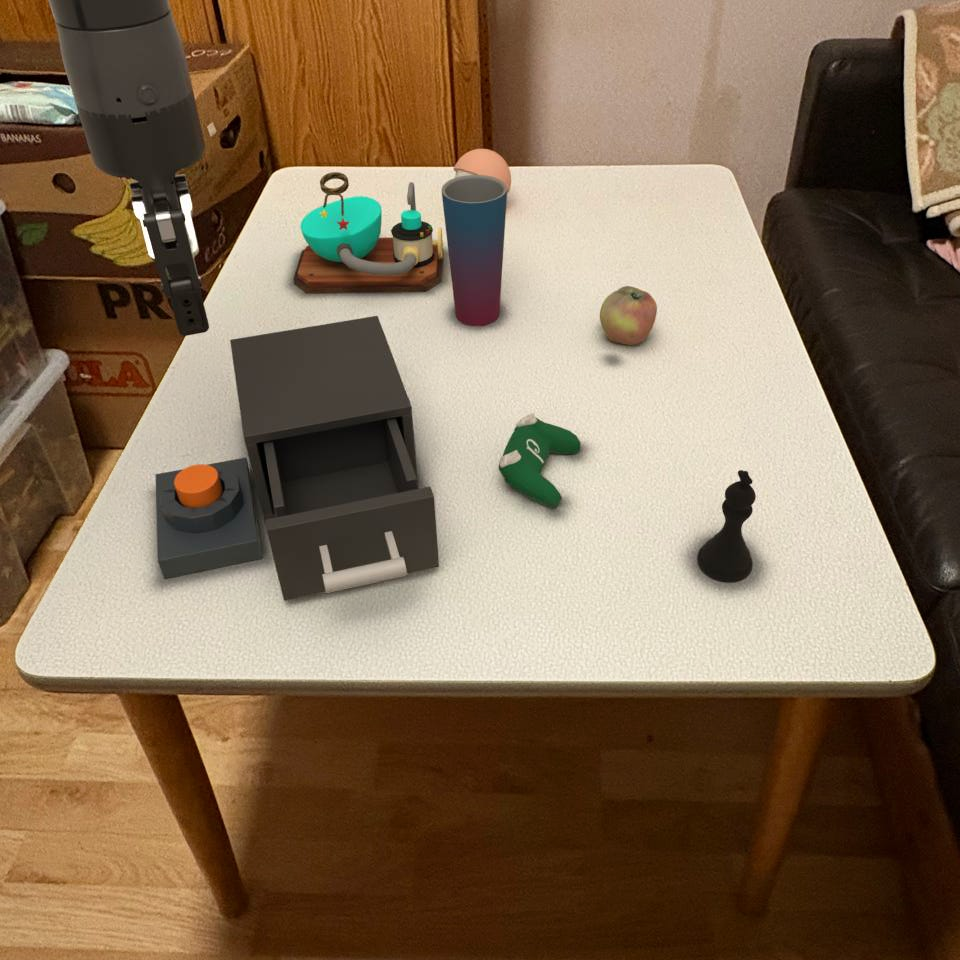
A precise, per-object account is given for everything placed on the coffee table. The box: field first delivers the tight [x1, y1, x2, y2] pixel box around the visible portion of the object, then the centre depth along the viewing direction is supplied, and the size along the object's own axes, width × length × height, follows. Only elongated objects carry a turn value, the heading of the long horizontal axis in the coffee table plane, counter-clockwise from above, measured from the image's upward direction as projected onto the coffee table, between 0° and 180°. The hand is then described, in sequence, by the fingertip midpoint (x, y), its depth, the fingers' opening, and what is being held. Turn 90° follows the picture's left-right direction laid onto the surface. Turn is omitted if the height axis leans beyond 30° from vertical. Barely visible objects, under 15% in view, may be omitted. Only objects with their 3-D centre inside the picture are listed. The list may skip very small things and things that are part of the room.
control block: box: [155, 457, 263, 580], centre depth 78 cm, size 11×8×4 cm
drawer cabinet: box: [229, 315, 420, 522], centre depth 83 cm, size 15×14×10 cm
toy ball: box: [453, 148, 512, 195], centre depth 122 cm, size 8×8×8 cm
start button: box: [174, 463, 222, 508], centre depth 76 cm, size 4×4×2 cm
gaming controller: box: [498, 412, 581, 508], centre depth 82 cm, size 9×4×6 cm
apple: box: [599, 285, 658, 346], centre depth 97 cm, size 6×8×6 cm
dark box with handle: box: [263, 417, 440, 602], centre depth 73 cm, size 18×12×8 cm
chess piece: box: [696, 469, 757, 583], centre depth 71 cm, size 4×4×10 cm
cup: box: [441, 175, 508, 327], centre depth 99 cm, size 7×7×15 cm
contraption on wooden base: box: [293, 171, 445, 294], centre depth 106 cm, size 14×18×15 cm
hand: (189, 303), depth 71 cm, fingers open, 8 cm apart
